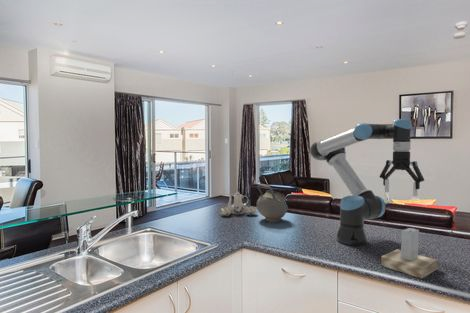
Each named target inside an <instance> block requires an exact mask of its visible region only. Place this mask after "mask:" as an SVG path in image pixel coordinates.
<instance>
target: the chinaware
mask: <svg viewBox="0 0 470 313" xmlns="http://www.w3.org/2000/svg"><path fill="white" fill-rule="evenodd" d="M244 197H246V198H247V202H245V203H243V201H242V200H243V199H244ZM228 198H229V200H228V203H227V206H225V207H221V208H220V209H219V213H220V214H222V215H224V216H225V217H229V216H230V215H231V214H233V215H243V214H244V212H245V211H246V213H247V214H248V216H253V215H254V214H255V213H256V214H257V213H258V211H257V210H258V209H257V206H254V205H252V206H251V205H250V206H247V204H248V203H249V199H250V198H249V197H248V196H247V195H242V194H241V193H240V192H239V191H238V190H237V191H236V193H235V194H233V204H232V195H228ZM221 211H222V212H221Z"/></svg>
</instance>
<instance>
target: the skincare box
mask: <svg viewBox="0 0 470 313" xmlns="http://www.w3.org/2000/svg"><path fill="white" fill-rule="evenodd" d="M400 239H401V244H400V250H401V258H403V259H406V260H409V261H411V260H414V259H416V258H418V255H419V243H420V242H419V240H420V230H419V229H416V228H412V227H411V228H410V227H408V228H405V229H402V230H401V238H400Z"/></svg>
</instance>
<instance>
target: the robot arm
mask: <svg viewBox="0 0 470 313" xmlns="http://www.w3.org/2000/svg"><path fill="white" fill-rule="evenodd" d="M411 133H412V123H411V119H408V118H397V119H394V120H393V122H392V123H380V124H379V123H366V122H365V123H364V122H363V123H358V124H357V125H355V127H354V128H352V129H349V130H347V131H344V132H342V133H340V134H337V135H335V136H332V137H329V138H327V139H320V140H317V141H314V142H313V143H312V144H311V146H310V149H309V152H310V153H309V154H310V155H311V157H312V158H313V159H315V160H317V161H326V163H327V164H328V166H330V167H333V169H334V170H335V172H336V173H337V175H338V176H339V177H340V179H341V181H342V182H343V184H344V185H345V187H346V188H347V189H348V191H349V192H350V194H351V195H346V196H343V197H342V198H341V199H340V205H339V221H340V222H339V227H338V230H337V233H336V241H337V242H338V243H339V244H343V245H347V246H355V247H356V246H365V245H366V244H367V243H368V237H367V234H366V231H365V227H364V224H365V221H366V220H371V219H372V220H373V219H377V218H381V217H382V216H383V215H384V214H385V211H386V203H385V200H384V199H383V198H382V197H381V196H378V195H376V194H374V192H373V191H372V190H370V189H367V187H366V186H365V185H364V183H363V181H362V180H361V178H360V177H359V176H358V175H357V173H356V172H355V170H354V169H353V168H352V166H351V164H350V163H349V161H347V154H346V153H347V152H346V147H348V146H351V145H355V144H357V143H360V142H363V141H366V140H391V139H392V150H393V151H392V160H391V159H387V160H386V161H385V166H384V167H383V169H382V171H381V172H380V175H379V178H381V179H382V180H383V181H382V182H383V186H384V193H389V192H390V179H389V177H390V176H392V174H393V173H394V172H396V170H397V171H400V170H401V171H406V172H407V173H408V175H410V177H411V178H412V179H413V187H412V188H413V189H412V190H413V191H412V196H413V197H417V196H418V190H419V189H420V188H421V187H420V185H421V184H420V183H422V182H424V181H425V178H424V176H423V174H422V172H421V170H420V168H419V166H418V162H417V161H414V160H413V161H411V152H410V151H411ZM391 165H393V166H392V167H391ZM410 166H412V168H411V167H410ZM390 167H391V168H390ZM389 169H390V170H389ZM412 169H413V170H412Z"/></svg>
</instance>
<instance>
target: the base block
mask: <svg viewBox="0 0 470 313" xmlns="http://www.w3.org/2000/svg"><path fill="white" fill-rule="evenodd" d="M380 260H381V263H380V266H382V267H385V268H387V269H390V270H394V271H397V272H400V273H404V274H406V275H409V276H412V277H415V278H418V279H424V278H426V277H428V276H429V275H430V274H432V273H434V272H435V271H437V269H438V268H437V264H438V259H434V258H432V257H427V256H424V255H419V254H418V258H416V259H414V260H411V261H409V260H406V259H403V258H401V249H395V250H392V251H390V252H388V253H386V254H383V255H381V259H380Z"/></svg>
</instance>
